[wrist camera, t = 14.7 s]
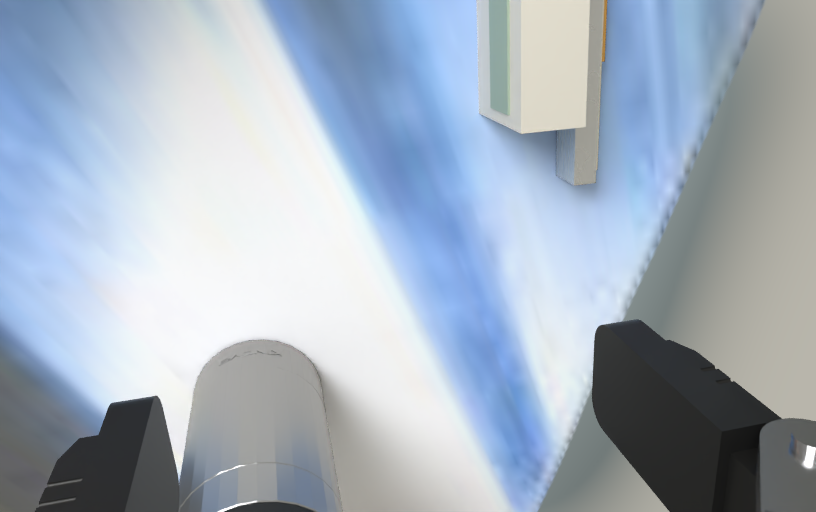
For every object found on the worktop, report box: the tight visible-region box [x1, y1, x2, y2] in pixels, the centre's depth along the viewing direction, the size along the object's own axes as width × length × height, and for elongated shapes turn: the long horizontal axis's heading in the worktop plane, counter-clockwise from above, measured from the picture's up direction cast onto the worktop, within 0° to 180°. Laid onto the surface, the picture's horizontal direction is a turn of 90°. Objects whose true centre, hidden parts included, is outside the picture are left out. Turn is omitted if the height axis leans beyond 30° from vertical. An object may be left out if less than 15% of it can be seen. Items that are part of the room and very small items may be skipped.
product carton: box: [476, 0, 590, 134], centre depth 41 cm, size 4×10×8 cm, turn 3°
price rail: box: [556, 0, 607, 186], centre depth 44 cm, size 20×2×3 cm, turn 4°
